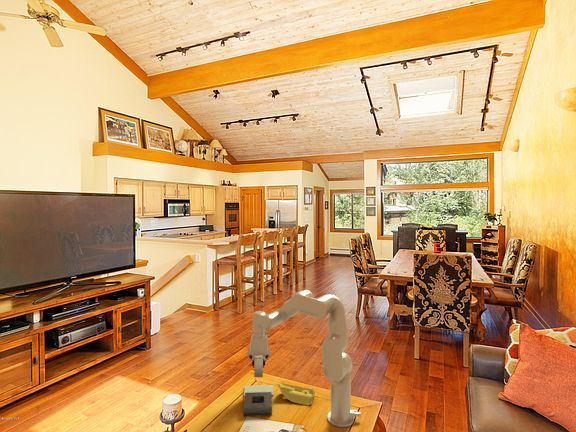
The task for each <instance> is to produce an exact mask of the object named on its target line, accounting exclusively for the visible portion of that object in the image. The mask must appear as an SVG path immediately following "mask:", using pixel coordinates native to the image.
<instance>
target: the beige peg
mask: <svg viewBox="0 0 576 432" xmlns="http://www.w3.org/2000/svg"><path fill="white" fill-rule="evenodd" d="M254 358H255V363H254V368H253V369H254V373H253V377H254V378H263V376H264V375H263V374H264V368H263V355H255V357H254Z"/></svg>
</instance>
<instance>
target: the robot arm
mask: <svg viewBox="0 0 576 432" xmlns="http://www.w3.org/2000/svg"><path fill="white" fill-rule="evenodd" d="M299 313H303V314H306V315H309V316H311V317H316V318H317V317H318V318H322V317H324V316H326V315H327V314H328V333H329V334H328V335H327V337H326V338H325V339H323V342H322V344H321V345H322V346H321V357H322V366H323V372H324V376H325V377H326V379H327V380H328V381H329V382H330V411H329V412H328V413H327V416H326V417H327V421H328V422H329V423H330V424H331V425H332V426H335V427H336V428H337V427H338V428H347V427H350V426H352V425H353V424H354V421H355V419H354V418H355V417H357V418H359V417H360V418H361V412H360V411H357V409H351V408H352V407H351V406H352V405H351V404H352V402H351V398H352V397H351V396H352V394H351V393H352V374H353V361H352V358H351V356H350V355H349V354H348V353H347V352H344V351H345V350H347V348H348V345H349V339H348V338H349V337H348V330H347V329H348V327H347V319H346V309H345V306H344V304H343V302H342V301H341V299H340V298H339V297H337V296H336V295H335V294H330V293H328V294H324V295H321V296H319V297H317V298H315V297H314V294H313V292H312V291H310V290H308V289H302V290H300V291H298V292H295V293H294V294H293V295H291V297H290V298H289V299H287V300H285V301H284V302H283V304H282V306H280V307H279V308H278V309H276V310H274V311H272V312H270V313H266V312H265V311H263V310H258V311H257V310H256V311H254V312H253V313H252V333H251V334H252V335H250V341H249V342H250V343H249V349H248V350H247V351H246V353H245V356H247V357H248V358H249V359H250V360H251V366H253V367H252V368H253V369H254V363H255V356H263V369H264V368H265V366H266V360H267V359H268V358H269V357H270V356H271V355H273V353H272V351H271V350H270V349H269V338H268V335H269V331H267V330H271V329H273V328H275V327H277V326H279V325H281V324H282V323H284V322H285V321H287V320H289V319H290V318H292V317H294V316H296V315H297V314H299Z"/></svg>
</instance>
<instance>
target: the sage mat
mask: <svg viewBox="0 0 576 432" xmlns="http://www.w3.org/2000/svg"><path fill="white" fill-rule="evenodd" d="M252 392H272V397H274V385H273V384H269V385H268V384H264V385H263V384H259V385H244V389H243V398H245V393H252Z"/></svg>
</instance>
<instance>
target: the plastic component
mask: <svg viewBox="0 0 576 432" xmlns="http://www.w3.org/2000/svg"><path fill="white" fill-rule="evenodd" d="M278 388H279V390H280V392H281V394H282V396H283V397H285V399H287V400H289V401H290V402H292V403H295V404H298V405H299V404H300V405H304V406H311V405H312V404H313V401H314V397H315V395H316V389H312V388H309V387H308V388H307V387H303V386H298V385H293V384H289V383H283V382H278Z"/></svg>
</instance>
